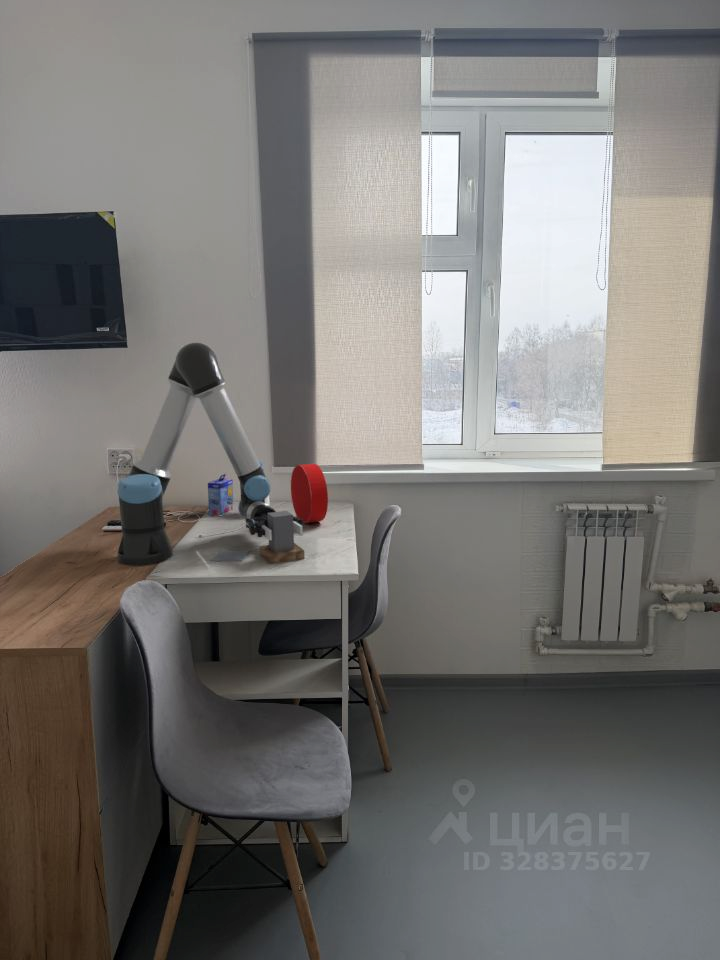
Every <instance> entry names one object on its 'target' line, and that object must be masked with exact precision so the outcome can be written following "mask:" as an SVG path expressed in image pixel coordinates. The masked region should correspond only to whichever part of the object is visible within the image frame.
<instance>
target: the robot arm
mask: <svg viewBox="0 0 720 960" xmlns="http://www.w3.org/2000/svg"><path fill="white" fill-rule="evenodd" d="M167 380H168V383H169V386H170V387H169V389H168V392H167V395H166V397H165V399H164V401H163V404H162V406H161V408H160V411H159V414H158V417H157V419H156V421H155V424H154V427H153V429H152V431H151V433H150V436H149V439H148V441H147V443H146V446H145V447H144V451H143V453H142V456H141V458H140V459H139V460H137V461H135V462H133V464H132V466H131V468H130V471H129V474H128V476H126V477H123V478H122V479H120V480H119V482H118V483H117V495H118V503H119V513H120V527H121V538H120V541H119V545H118V548H117V562H118V563H120V564H122V565H125V566H127V565H128V566H145V565H152V564H158V563H160V562H164V561H166V559H167V560H169V559H171V558H172V557H173V556H174V554H173V546H172V544H171V541H170V540H169V537H168V535H167V532H166V530H165V521H164V520H165V519H164V506H163V500H164V498H163V497H164V495H165V493H166V490H167V488H168V486H169V483H170V480H171V478H172V475H171V473H170V471H169V469H170V467H171V464H172V463H173V460H174V457H175V455H176V452H177V449H178V448H179V444H180V443H181V440H182V438H183V435H184V433H185V430H186V427H187V426H188V423H189V421H190V418H191V416H192V413H193V411H194V408H195V406H196V403H197V402H198V399H199V401H200V403H201V405H202V407H203V409H204V410H205V412H206V415H207V417H208V419H209V422H210V423H211V425H212V428H213V429H214V431H215V433H216V435H217V438H218V440H219V442H220V443H221V445H222V448H223V450H224V452H225V454H226V456H227V458H228V460H229V462H230V464H231V466H232V468H233V470H234V472H235V474H236V476H237V479H238V481H239V489H240V501H239V502H238V506H237V507H238V508H237V510H238V512H239V514H240V515H241V517H242V518H243V519H245V528H247V529H248V531H249V534H250V535H251V536H255V534H257V538H262V537H264V538H265V539H267V540H268V541H269V540H272V534H271V530H270V529H269V528H268V516H267V513H271V512H277V511H276V510H275V509H274V508H273V507H271V506H270V504H269V505H267V504H265V498H267V497H268V495H269V496H270V493H271V483H270V481H269V479H268V478H267V476H266V474H265V472H264V471H265V470H264V465H263V464H264V463H263V461H261V460H259V459H258V457H257V454H256V453H255V451H254V449H253V447H252V444H251V442H250V440H249V438H248V436H247V434H246V432H245V429H244V428H243V425H242V423H241V421H240V419H239V417H238V415H237V412H236V410H235V408H234V406H233V404H232V403H231V400H230V398H229V396H228V393H227V392H226V389H225V385H226V381H225V379H224V377H223V374H222V372H221V369H220V365H219V362H218V359H217V355H216V353H215V351H214V350H213V349H212V348H211V347H209V346H208V345H207V344H205V343H202V342H201V343H200V342H191V343H188V344H186V345H185V344H184V345H183V347H181V348H180V349H179V350H178V352H177V354H176V356H175V360H174V363H173V366H172V368H171V371H170V373H169V376H168V377H167ZM293 533H295V534H297V535H298V536H299V537H303V536H304V523H303V519H300V518H297V516H294V515H293ZM171 556H172V557H171ZM170 557H171V558H170ZM168 558H169V559H168Z"/></svg>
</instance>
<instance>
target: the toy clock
mask: <svg viewBox="0 0 720 960" xmlns="http://www.w3.org/2000/svg"><path fill="white" fill-rule="evenodd" d="M290 478H291V479H290V495H291V502H292V507H293V509H294V513H295V517H297V518H300V519H303V524H310V523H315V522H316V523H317V522H322V521H324V519H325V518H326V516H327V512H328V507H329V494H328V493H329V491H328V487H327V482H326V479H325V475H324V472H323V470H322V469H321V467H320V466H319V465H318V464H316V463H307V464H297V465H295V466H294V467H293V469H292V473H291V477H290Z"/></svg>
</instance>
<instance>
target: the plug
mask: <svg viewBox="0 0 720 960" xmlns="http://www.w3.org/2000/svg"><path fill="white" fill-rule="evenodd" d="M267 516H268V528H269V529H270V530H271V534H272V540H268V545H269V548H271V549H272V550H273V551H274V552H280V551H287V550H293V549H294V543H295V541H294V540H295V538H294V537H295V536H294V533H295V532H294V531H293V516H294V515H293V514H292V513H290V512H289V511H287V510H281V511H276V512H271V513H267Z"/></svg>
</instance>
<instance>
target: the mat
mask: <svg viewBox="0 0 720 960" xmlns="http://www.w3.org/2000/svg"><path fill="white" fill-rule="evenodd" d="M249 553H250V550H218V552H216V554H215V555H213V556H212V557H211V559H209V562H243V560H244V559H245V558H246V557H247V556H248V554H249Z"/></svg>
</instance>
